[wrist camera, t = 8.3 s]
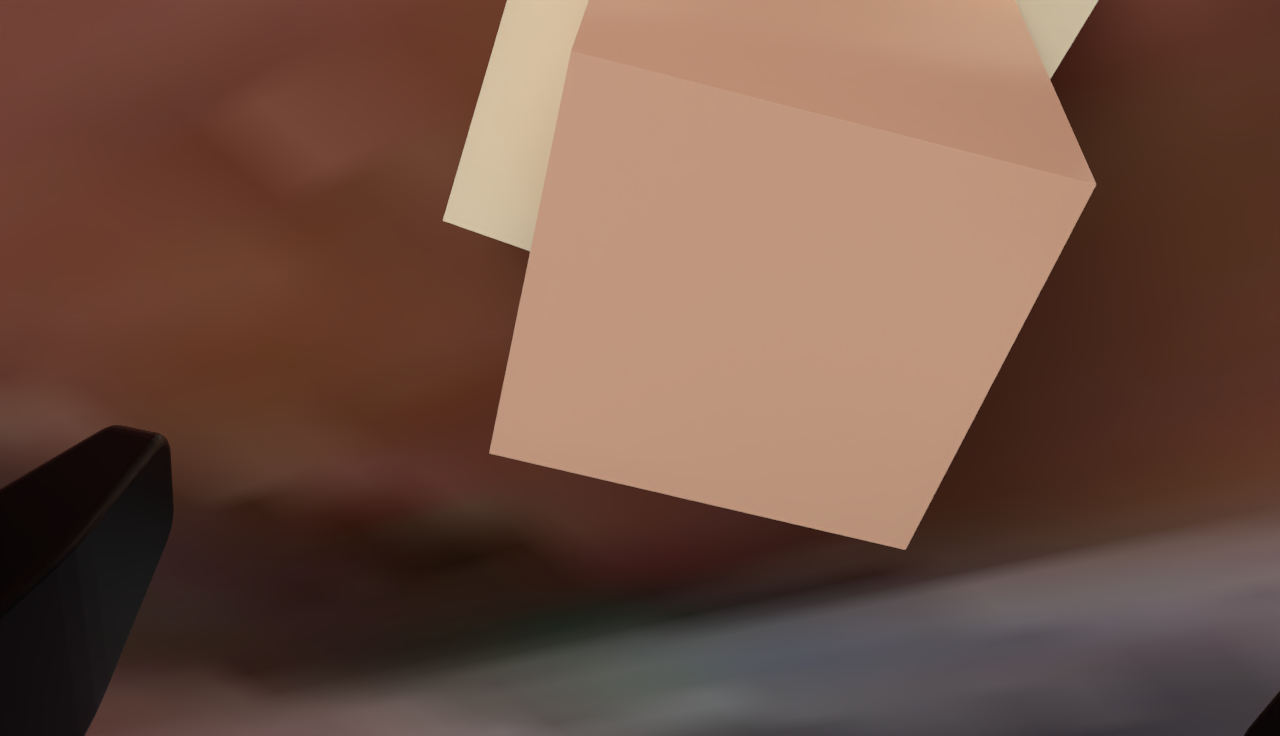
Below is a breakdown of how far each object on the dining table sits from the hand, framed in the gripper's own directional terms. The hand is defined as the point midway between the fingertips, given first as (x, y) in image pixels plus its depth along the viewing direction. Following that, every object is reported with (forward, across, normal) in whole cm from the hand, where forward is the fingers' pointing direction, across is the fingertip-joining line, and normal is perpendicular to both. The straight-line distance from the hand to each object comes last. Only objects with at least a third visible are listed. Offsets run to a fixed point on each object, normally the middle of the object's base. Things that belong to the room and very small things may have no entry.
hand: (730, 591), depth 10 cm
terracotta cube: (+9, 0, 0) cm, 9 cm away
